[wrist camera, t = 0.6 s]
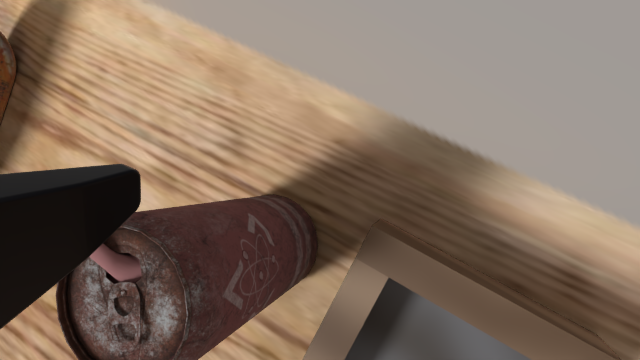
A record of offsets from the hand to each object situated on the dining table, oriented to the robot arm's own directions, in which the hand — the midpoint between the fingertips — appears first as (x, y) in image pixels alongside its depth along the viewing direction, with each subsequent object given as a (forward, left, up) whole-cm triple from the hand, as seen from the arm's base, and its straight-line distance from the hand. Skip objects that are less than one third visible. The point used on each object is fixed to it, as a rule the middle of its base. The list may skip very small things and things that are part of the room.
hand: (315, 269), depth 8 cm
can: (-9, 0, -18) cm, 20 cm away
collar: (-2, -10, -17) cm, 20 cm away
